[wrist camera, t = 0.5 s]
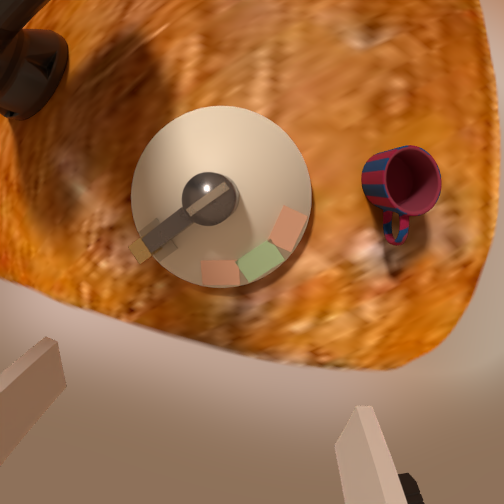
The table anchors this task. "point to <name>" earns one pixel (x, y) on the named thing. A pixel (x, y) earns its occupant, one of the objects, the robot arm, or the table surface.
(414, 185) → the mug
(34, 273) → the table surface
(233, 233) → the dial plate
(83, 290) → the table surface
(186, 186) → the needle
